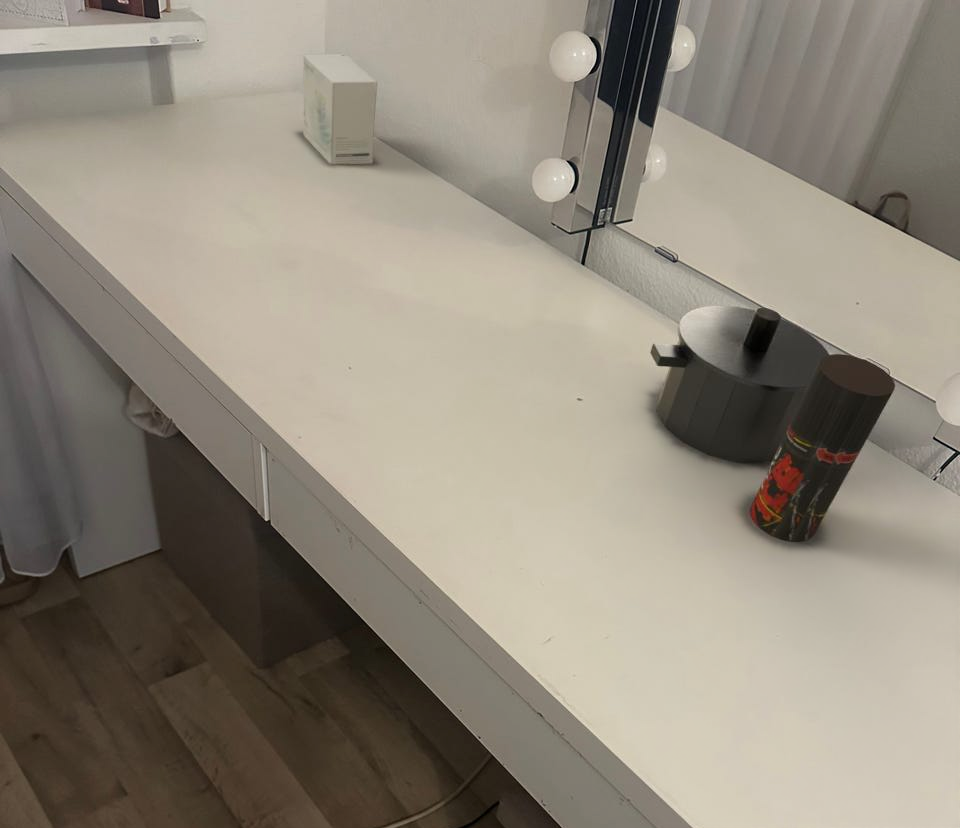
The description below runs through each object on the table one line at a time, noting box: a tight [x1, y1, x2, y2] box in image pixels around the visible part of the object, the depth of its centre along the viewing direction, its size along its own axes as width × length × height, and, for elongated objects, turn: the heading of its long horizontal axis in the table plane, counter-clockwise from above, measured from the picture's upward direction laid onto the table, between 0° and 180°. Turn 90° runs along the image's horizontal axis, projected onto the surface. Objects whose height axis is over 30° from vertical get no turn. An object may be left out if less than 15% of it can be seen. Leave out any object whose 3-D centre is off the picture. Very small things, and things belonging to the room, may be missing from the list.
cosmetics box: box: [302, 53, 378, 165], centre depth 120 cm, size 10×6×10 cm, turn 28°
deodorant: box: [749, 353, 896, 543], centre depth 75 cm, size 6×6×15 cm
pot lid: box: [677, 305, 830, 392], centre depth 83 cm, size 15×15×4 cm
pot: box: [649, 339, 805, 465], centre depth 87 cm, size 14×19×8 cm
